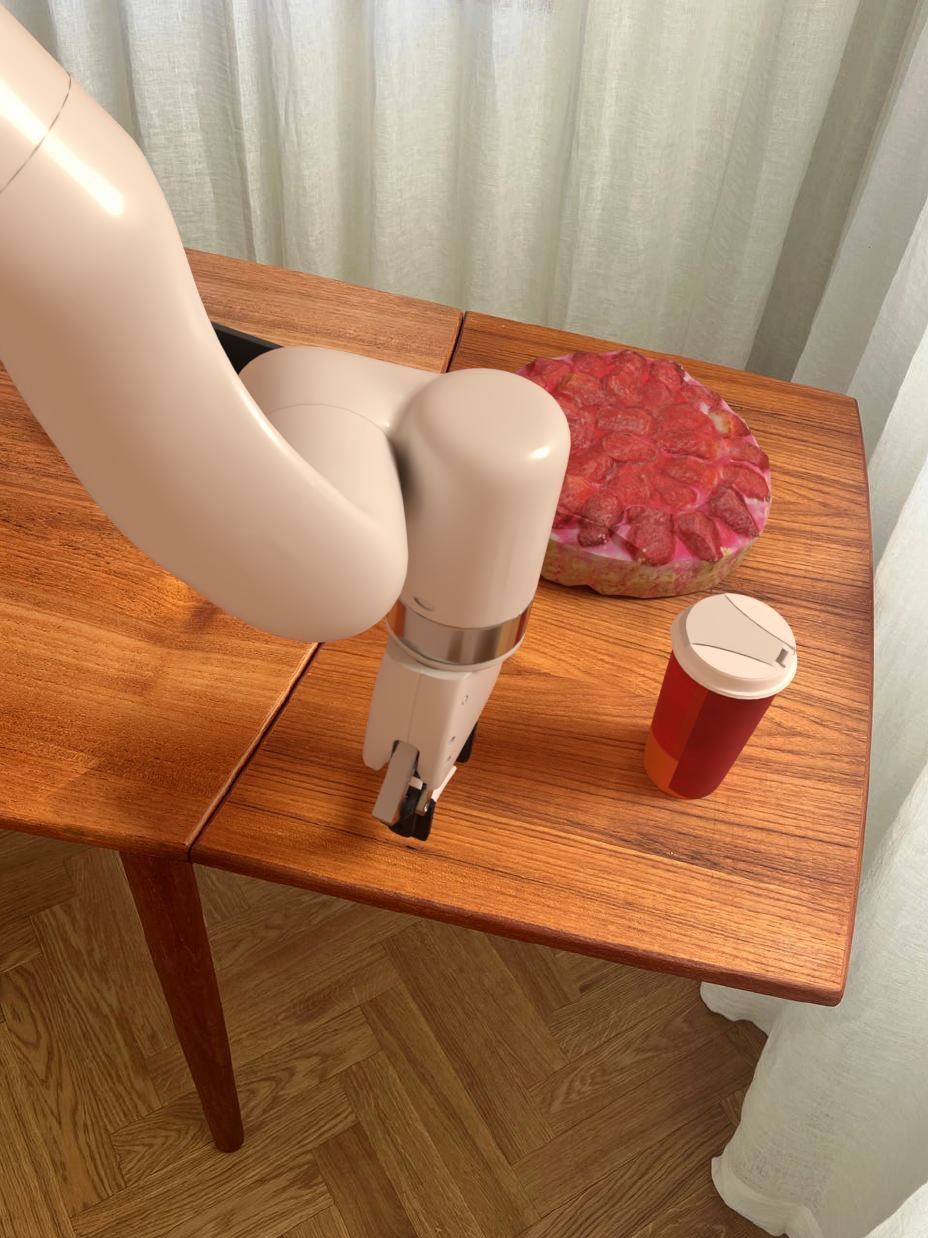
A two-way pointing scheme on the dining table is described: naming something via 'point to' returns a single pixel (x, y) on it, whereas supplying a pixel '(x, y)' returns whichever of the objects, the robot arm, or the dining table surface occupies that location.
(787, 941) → the dining table surface
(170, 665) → the dining table surface
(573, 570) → the cake
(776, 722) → the dining table surface
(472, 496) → the robot arm
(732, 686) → the paper cup
